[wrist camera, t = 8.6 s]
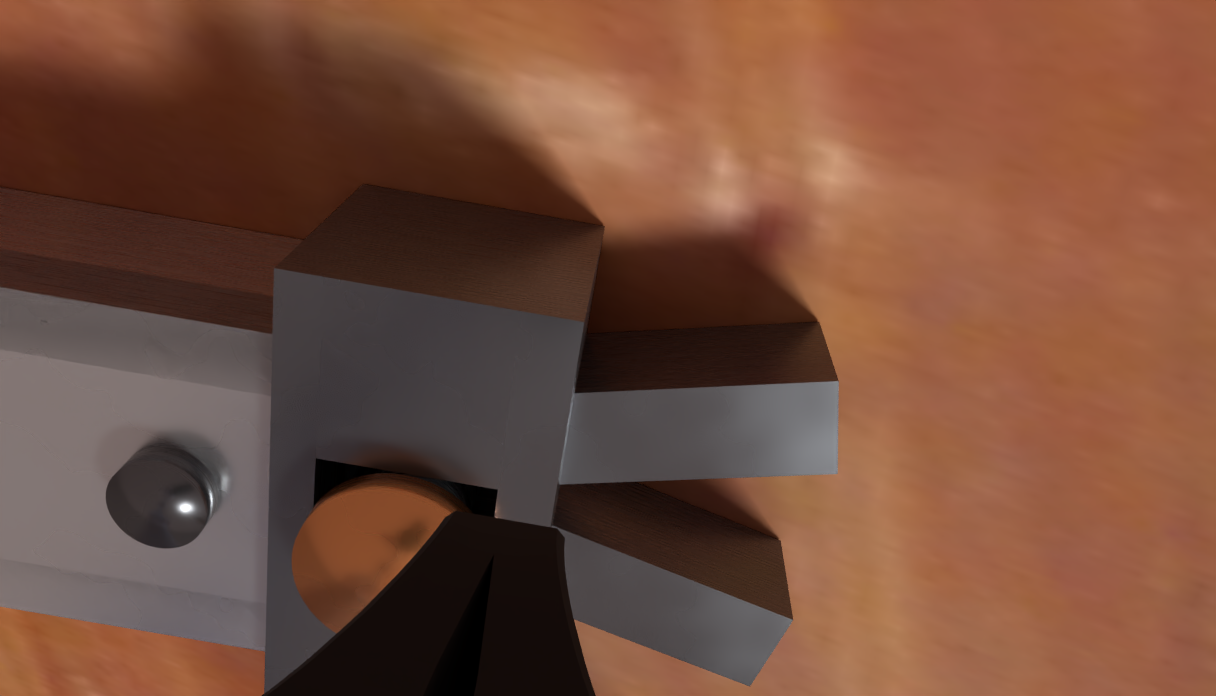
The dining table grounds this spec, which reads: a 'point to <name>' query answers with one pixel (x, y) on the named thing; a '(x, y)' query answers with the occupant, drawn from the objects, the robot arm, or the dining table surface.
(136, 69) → the dining table surface
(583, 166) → the dining table surface
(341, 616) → the pin
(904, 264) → the dining table surface
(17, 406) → the block
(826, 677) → the dining table surface
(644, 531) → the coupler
